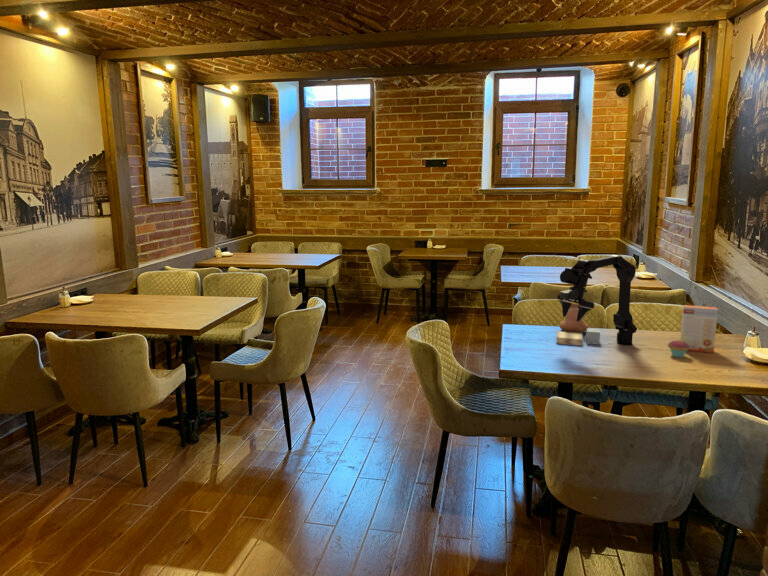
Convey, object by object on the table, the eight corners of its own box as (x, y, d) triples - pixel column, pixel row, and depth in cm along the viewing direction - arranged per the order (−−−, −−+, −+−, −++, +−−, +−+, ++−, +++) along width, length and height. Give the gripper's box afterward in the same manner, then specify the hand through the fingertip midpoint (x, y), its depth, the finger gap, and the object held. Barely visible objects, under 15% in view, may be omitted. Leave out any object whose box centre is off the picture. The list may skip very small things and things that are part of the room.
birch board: (581, 338, 281) (582, 333, 281) (582, 345, 270) (582, 339, 270) (556, 336, 285) (557, 331, 284) (556, 343, 274) (556, 337, 273)
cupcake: (686, 354, 257) (689, 328, 255) (689, 359, 249) (692, 333, 247) (665, 352, 260) (668, 327, 257) (668, 357, 252) (671, 332, 249)
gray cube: (598, 341, 278) (599, 329, 277) (599, 344, 272) (600, 332, 271) (585, 340, 280) (586, 328, 279) (586, 343, 274) (587, 331, 273)
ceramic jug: (593, 335, 287) (595, 308, 285) (566, 336, 286) (568, 308, 284) (579, 327, 305) (581, 302, 302) (553, 327, 304) (555, 302, 302)
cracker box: (712, 350, 263) (717, 306, 259) (713, 353, 258) (718, 309, 254) (678, 346, 269) (683, 304, 265) (679, 349, 264) (684, 306, 260)
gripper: (552, 279, 262) (544, 311, 264) (580, 286, 246) (571, 320, 247) (570, 284, 267) (562, 315, 269) (599, 291, 250) (590, 324, 252)
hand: (570, 318), depth 259 cm, fingers open, 9 cm apart
